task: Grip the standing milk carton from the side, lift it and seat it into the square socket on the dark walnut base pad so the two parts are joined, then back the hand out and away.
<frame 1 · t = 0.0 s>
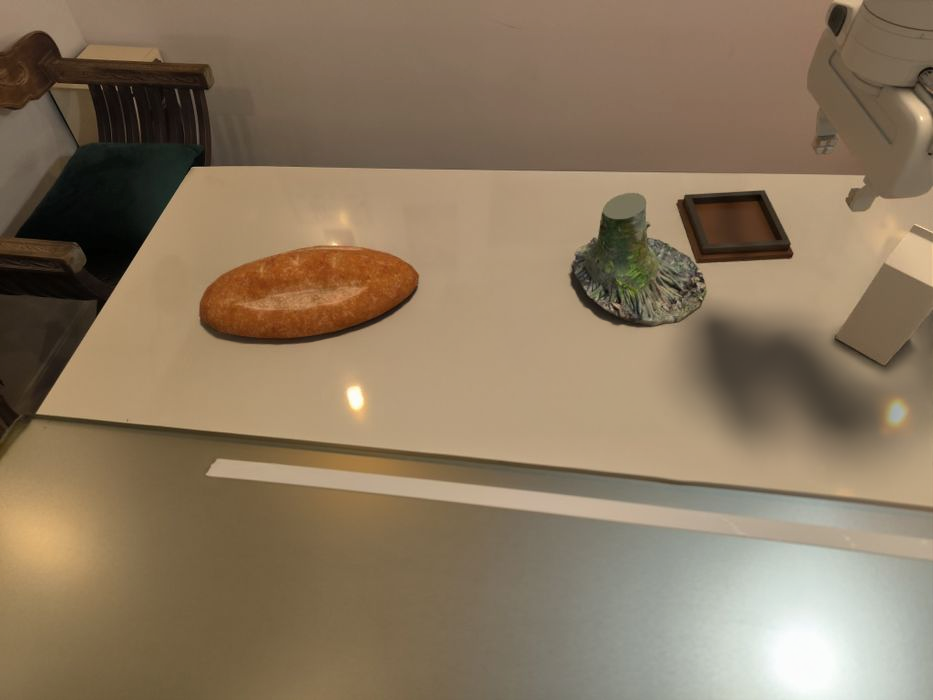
hand: (837, 177, 63), 30 cm above the table, tool pointing down, fingers open, 8 cm apart
tree stump: (635, 285, 96), on the table
bread: (313, 301, 99), on the table
milk carton: (870, 339, 87), on the table
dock: (731, 229, 102), on the table
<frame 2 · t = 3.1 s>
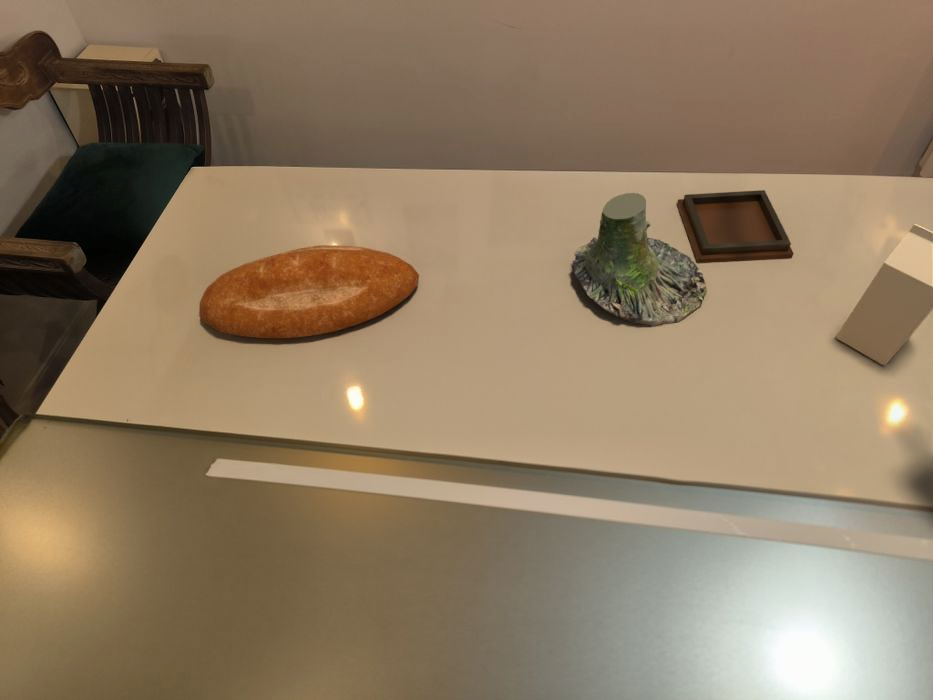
nothing on the table moved.
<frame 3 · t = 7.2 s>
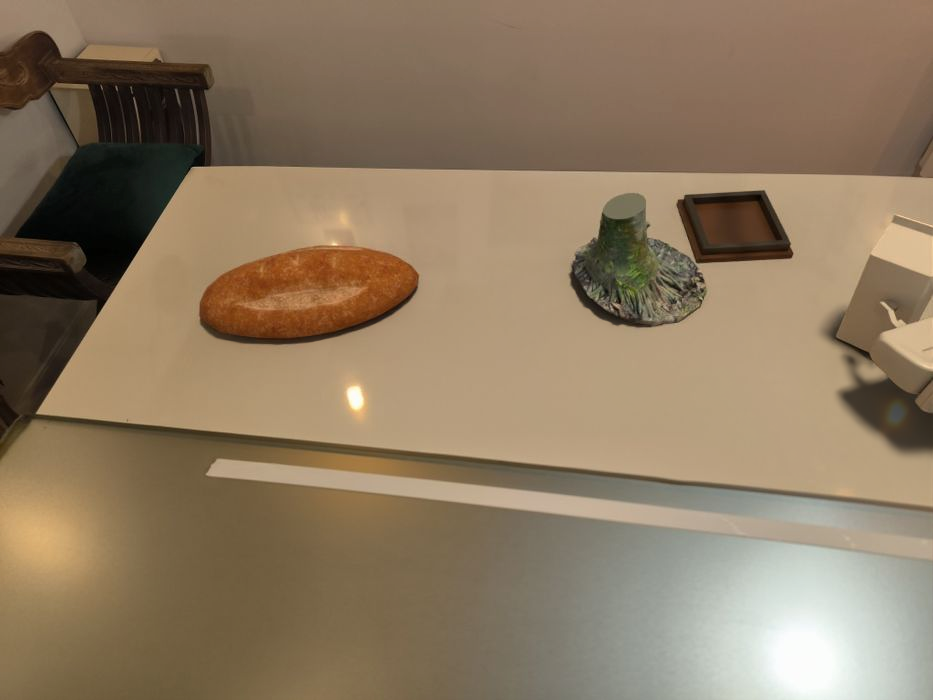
hand: (911, 294, 78), 10 cm above the table, tool horizontal, fingers open, 8 cm apart
milk carton: (872, 337, 87), on the table, touching gripper
everything else where it was.
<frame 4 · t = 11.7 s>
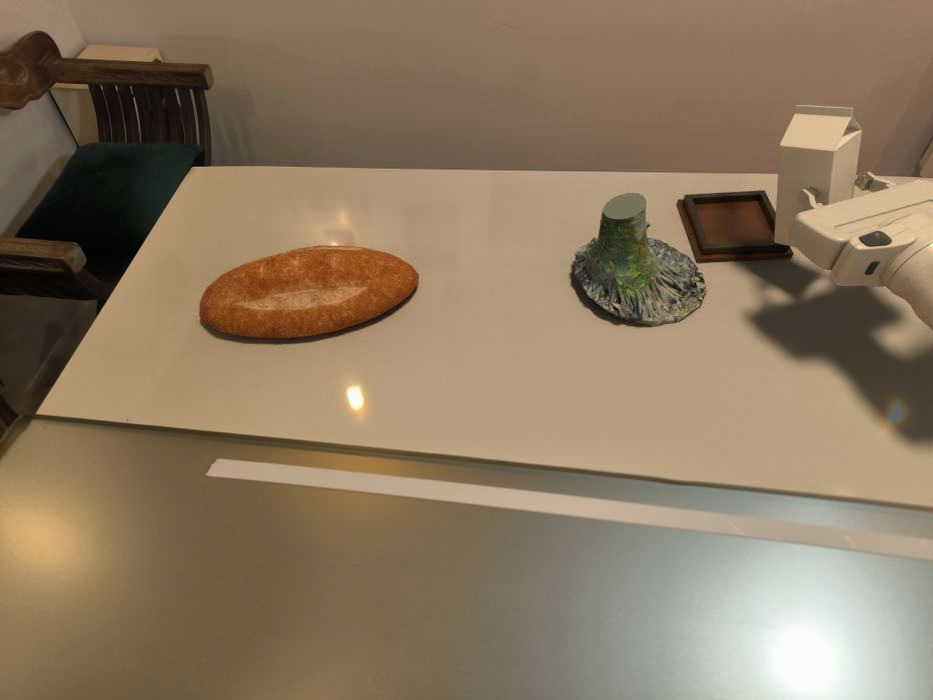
hand: (831, 184, 82), 17 cm above the table, tool horizontal, fingers closed on milk carton, 7 cm apart
milk carton: (810, 238, 89), point 8 cm above the table, touching gripper
everything else where it was.
when the fingers open (11 cm above the table, at t = 15.6 s): milk carton stays where it is, resting on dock.
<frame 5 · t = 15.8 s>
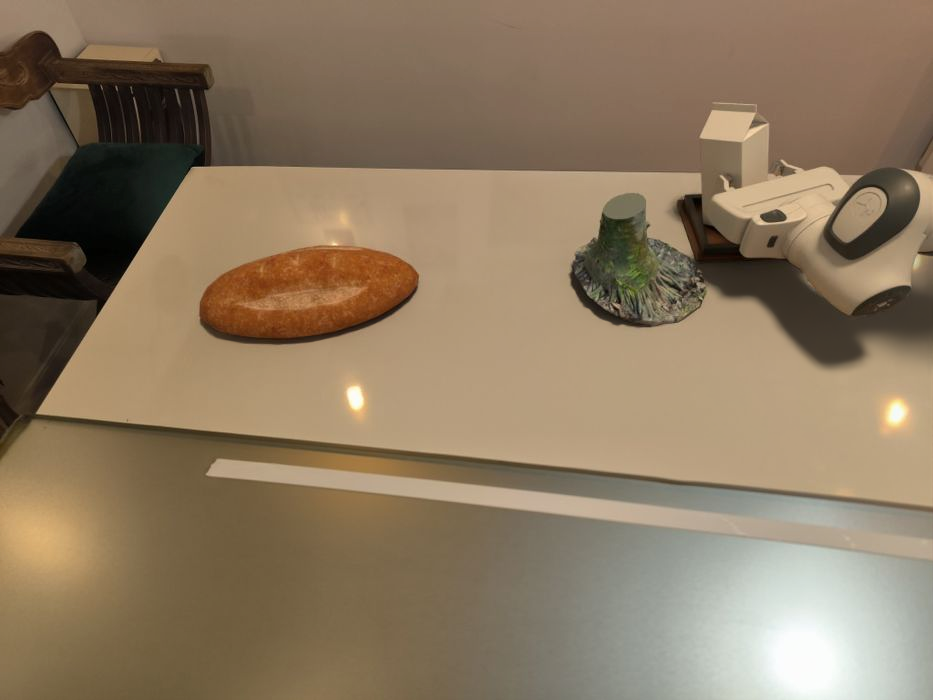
hand: (748, 171, 94), 11 cm above the table, tool horizontal, fingers open, 8 cm apart
milk carton: (734, 220, 101), point 2 cm above the table, touching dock, gripper
everything else where it was.
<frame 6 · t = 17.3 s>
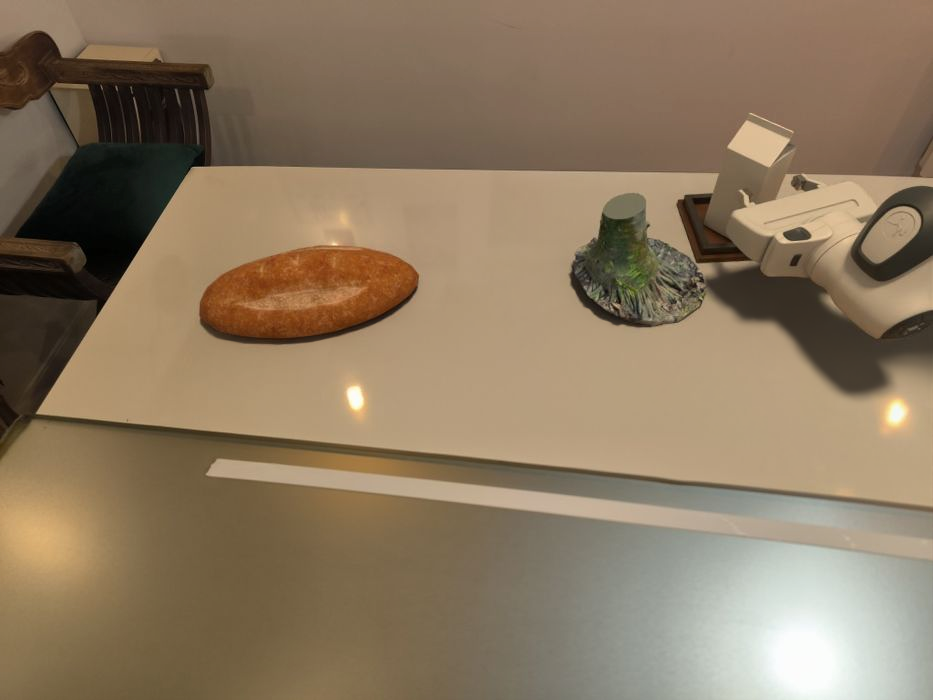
hand: (768, 185, 91), 12 cm above the table, tool horizontal, fingers open, 8 cm apart
milk carton: (733, 226, 102), point 1 cm above the table, touching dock
everything else where it was.
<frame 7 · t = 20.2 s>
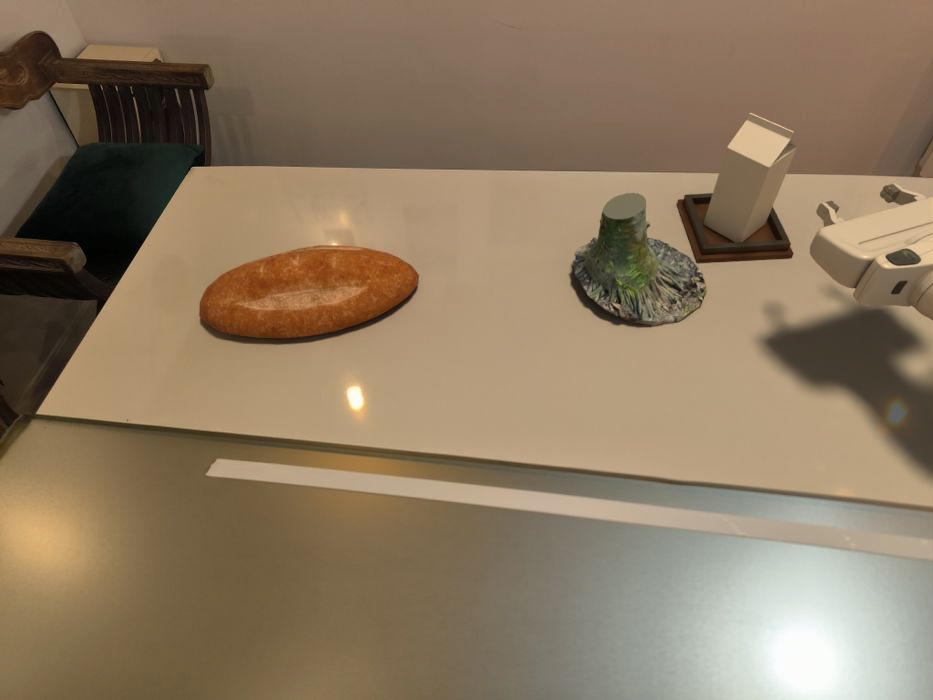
hand: (854, 197, 78), 18 cm above the table, tool horizontal, fingers open, 8 cm apart
nothing on the table moved.
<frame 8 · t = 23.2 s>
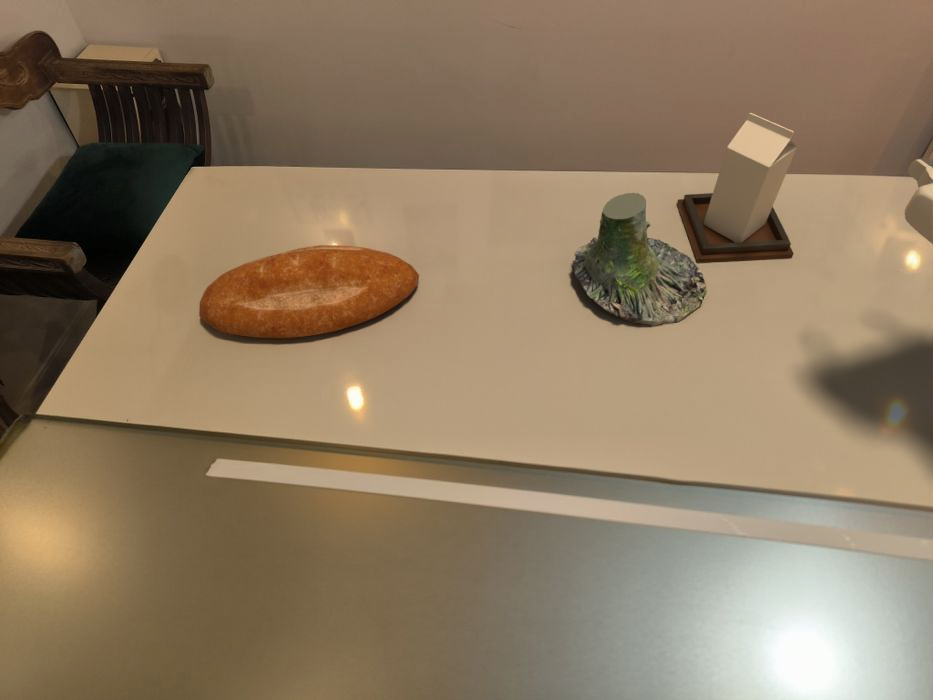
nothing on the table moved.
at the end: milk carton 0.1 cm off-centre on the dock, point 0.8 cm above the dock's base; milk carton tilted 0°; the gripper is holding nothing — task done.
